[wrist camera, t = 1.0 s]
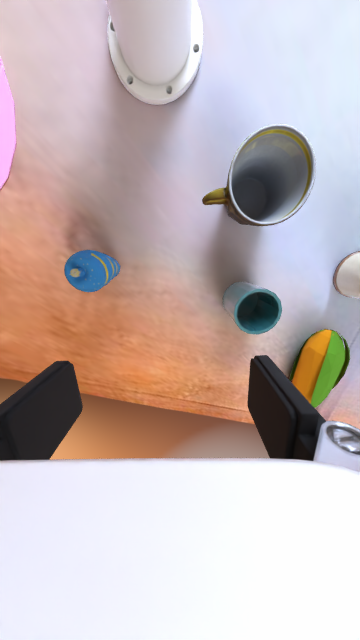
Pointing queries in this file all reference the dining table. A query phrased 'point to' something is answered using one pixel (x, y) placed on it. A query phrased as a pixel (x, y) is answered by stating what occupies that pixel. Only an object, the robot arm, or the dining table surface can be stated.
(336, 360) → the corn
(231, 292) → the teal cup
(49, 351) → the dining table surface
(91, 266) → the ornament
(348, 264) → the cup stack
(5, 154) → the platter
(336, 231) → the dining table surface
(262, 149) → the ceramic cup
